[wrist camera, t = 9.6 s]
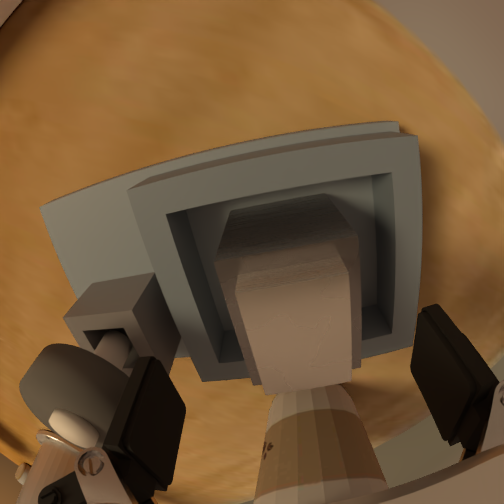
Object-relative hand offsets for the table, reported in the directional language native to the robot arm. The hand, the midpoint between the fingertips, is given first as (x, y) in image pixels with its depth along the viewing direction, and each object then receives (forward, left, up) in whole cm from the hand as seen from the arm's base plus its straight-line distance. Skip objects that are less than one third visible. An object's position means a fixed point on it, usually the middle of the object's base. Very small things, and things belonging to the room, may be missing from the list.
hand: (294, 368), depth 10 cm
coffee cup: (-15, 0, -10) cm, 18 cm away
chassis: (0, +3, -9) cm, 10 cm away
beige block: (0, 0, -8) cm, 8 cm away
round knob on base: (-2, +10, -5) cm, 11 cm away
